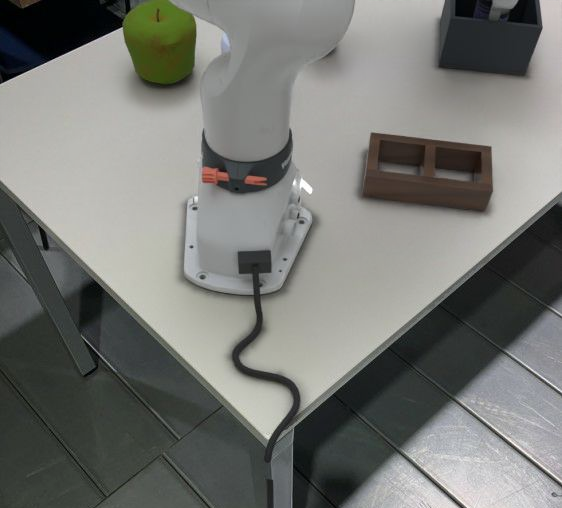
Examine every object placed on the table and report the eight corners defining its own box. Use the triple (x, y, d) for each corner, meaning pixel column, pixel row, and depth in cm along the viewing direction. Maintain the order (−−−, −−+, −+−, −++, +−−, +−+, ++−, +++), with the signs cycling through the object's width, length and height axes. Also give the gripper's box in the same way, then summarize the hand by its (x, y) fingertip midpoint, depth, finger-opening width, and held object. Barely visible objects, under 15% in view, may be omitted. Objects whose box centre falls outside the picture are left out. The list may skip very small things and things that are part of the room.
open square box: (524, 76, 112) (542, 27, 105) (438, 66, 113) (450, 18, 106) (520, 28, 121) (537, -20, 113) (440, 20, 122) (451, -28, 114)
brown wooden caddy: (484, 211, 94) (493, 191, 91) (361, 196, 95) (365, 175, 92) (483, 167, 99) (491, 146, 96) (367, 153, 101) (370, 131, 97)
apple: (143, 49, 114) (132, -16, 105) (208, 57, 113) (202, -7, 104) (122, 89, 108) (108, 24, 98) (190, 99, 107) (182, 34, 97)
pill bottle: (494, 51, 113) (512, -13, 104) (463, 42, 115) (477, -22, 106) (506, 35, 116) (525, -29, 107) (476, 26, 118) (491, -37, 108)
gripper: (497, -112, 105) (474, -24, 116) (501, -54, 94) (475, 36, 106) (535, -108, 104) (508, -21, 116) (543, -50, 93) (512, 40, 105)
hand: (492, 7), depth 111 cm, fingers closed on pill bottle, 6 cm apart
